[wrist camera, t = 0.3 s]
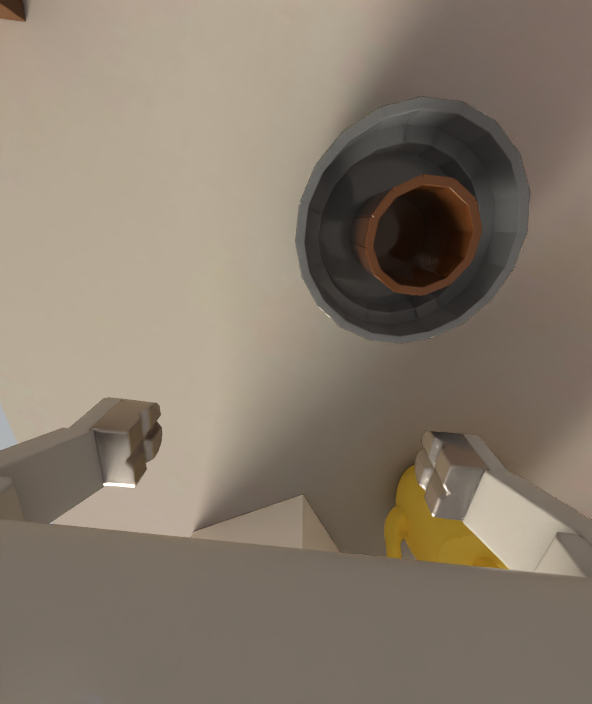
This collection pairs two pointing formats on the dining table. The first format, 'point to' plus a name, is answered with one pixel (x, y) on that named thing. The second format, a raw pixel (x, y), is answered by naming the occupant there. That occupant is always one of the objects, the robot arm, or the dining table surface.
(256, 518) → the white v-notched block
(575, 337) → the dining table surface
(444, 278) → the cup
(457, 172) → the grey round tub
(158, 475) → the dining table surface
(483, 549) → the teapot
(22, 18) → the stand
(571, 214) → the dining table surface
